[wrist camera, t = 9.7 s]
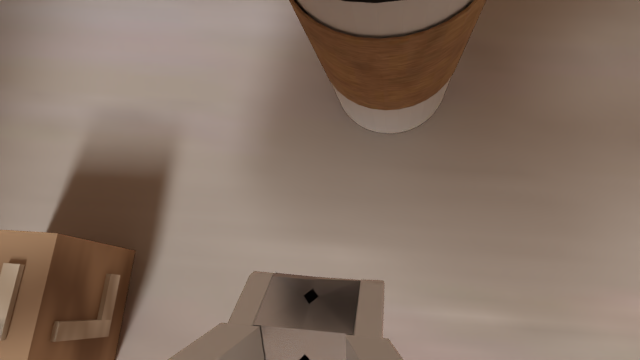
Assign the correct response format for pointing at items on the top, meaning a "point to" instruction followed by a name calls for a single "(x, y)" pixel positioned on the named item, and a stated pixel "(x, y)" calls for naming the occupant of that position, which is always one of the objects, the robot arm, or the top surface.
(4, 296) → the lettered cube
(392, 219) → the top surface
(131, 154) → the top surface
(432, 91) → the coffee cup
